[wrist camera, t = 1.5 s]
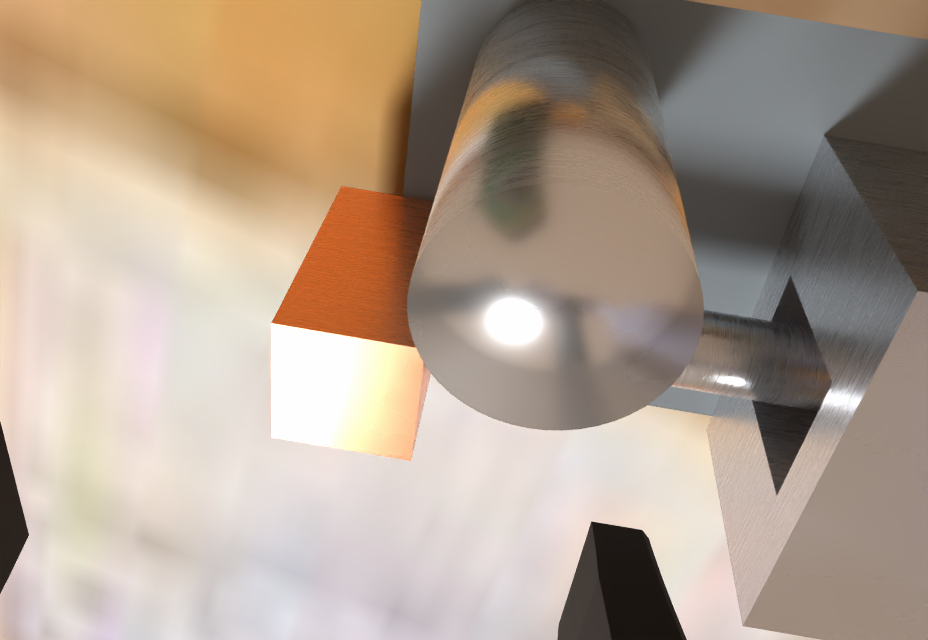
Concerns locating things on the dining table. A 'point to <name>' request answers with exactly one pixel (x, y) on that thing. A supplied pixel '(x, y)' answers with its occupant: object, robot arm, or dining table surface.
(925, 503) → the block
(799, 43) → the board
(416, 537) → the dining table surface
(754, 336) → the orange grey long bar
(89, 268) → the dining table surface
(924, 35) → the socket
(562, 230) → the peg
